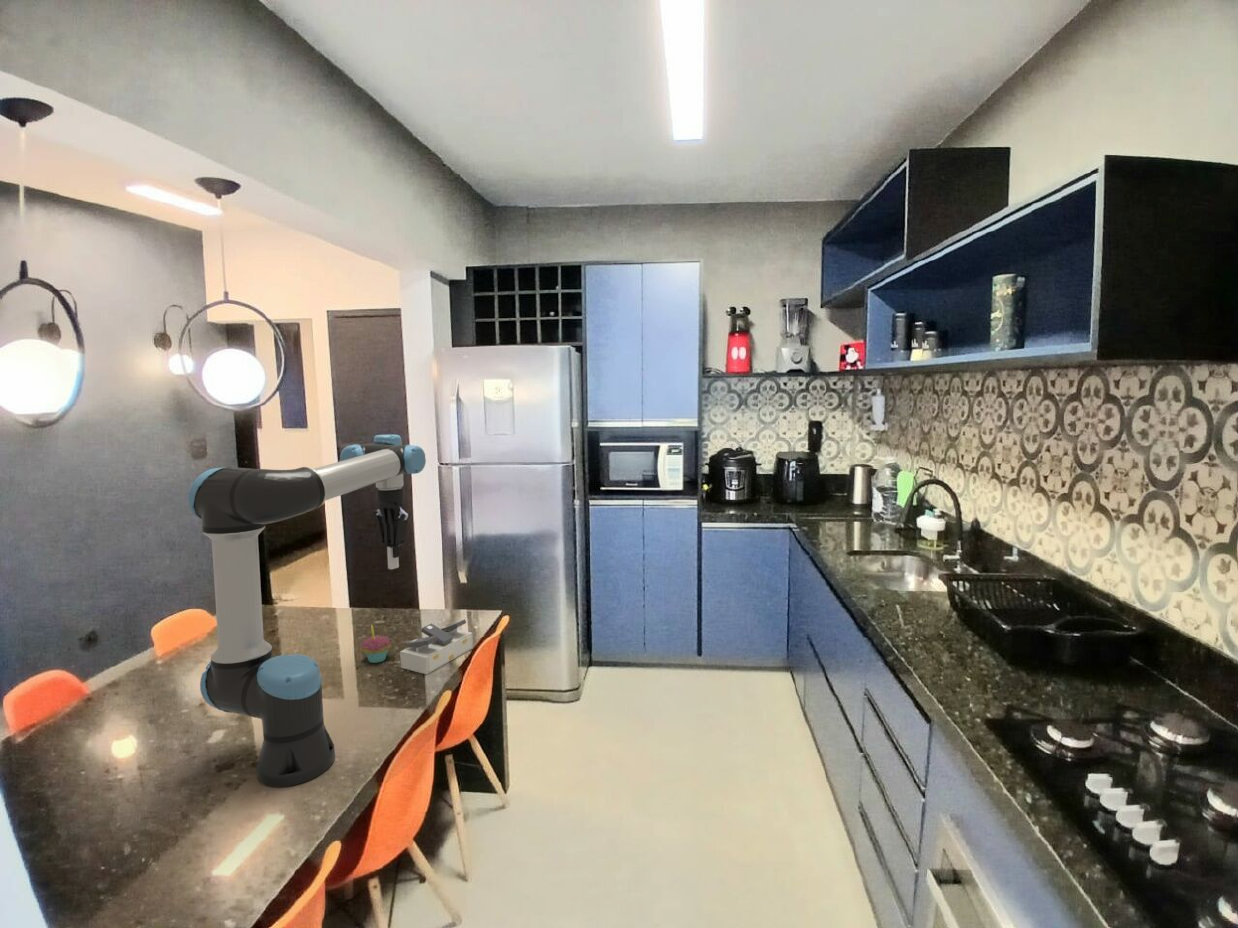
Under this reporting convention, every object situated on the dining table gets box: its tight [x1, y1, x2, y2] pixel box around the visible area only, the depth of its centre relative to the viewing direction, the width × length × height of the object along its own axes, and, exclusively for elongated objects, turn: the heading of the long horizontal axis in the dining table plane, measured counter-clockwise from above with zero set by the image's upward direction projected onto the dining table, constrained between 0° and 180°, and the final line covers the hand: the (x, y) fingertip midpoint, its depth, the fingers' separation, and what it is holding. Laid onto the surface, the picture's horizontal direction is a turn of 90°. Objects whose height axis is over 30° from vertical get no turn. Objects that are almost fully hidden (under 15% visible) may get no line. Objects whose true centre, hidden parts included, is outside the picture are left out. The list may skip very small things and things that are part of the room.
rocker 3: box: [440, 619, 467, 632], centre depth 195 cm, size 4×9×1 cm, turn 63°
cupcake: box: [360, 623, 392, 664], centre depth 189 cm, size 9×8×12 cm
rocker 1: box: [405, 636, 438, 648], centre depth 184 cm, size 4×9×1 cm, turn 63°
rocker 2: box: [420, 623, 453, 645], centre depth 190 cm, size 4×9×1 cm, turn 63°
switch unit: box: [399, 627, 474, 675], centre depth 190 cm, size 20×10×6 cm, turn 153°
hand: (393, 567), depth 184 cm, fingers closed
